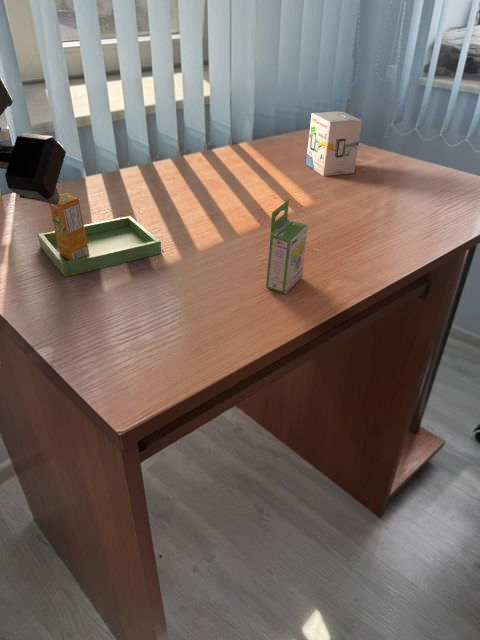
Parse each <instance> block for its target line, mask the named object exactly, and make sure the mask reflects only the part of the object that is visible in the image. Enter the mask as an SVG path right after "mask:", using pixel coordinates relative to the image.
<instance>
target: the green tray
mask: <svg viewBox="0 0 480 640" xmlns="http://www.w3.org/2000/svg"><path fill="white" fill-rule="evenodd" d="M84 229H85V234H86V239H87V244H88V250H89V255H90V256H87V257H83V258H78V259H74V260H70V261H65V260H64V259H63V258H62V256H61V255H60V252H59V247H58V243H57V239H56V234H55V230H52V231H46V232H41V233H37V238H38V243H39V246H40V248H41V250H42V251H43V252H44V253H45V254H46V256H47V257H48V258H49V259H50V261H51V262H52V263H53V264H54V266H55V267H56V268H57V269H58V270H59V272H60V273H61V274H62V276H63V277H64V278H68V277H71V276H72V277H73V276H76V275H81V274H84V273H88V272H92V271H96V270H101V269H104V268H108V267H112V266H117V265H120V264H125V263H129V262H132V261H136V260H141V259H145V258H149V257H153V256H157V255H161V254H162V242H161V240H160V239H158V238H157V237H156V235H153V233H151V232H150V231H149V230H148V229H147V228H145V227H144V226H143V225H141V224H140V223H139V222H138V221H137V220H136V219H134V218H133V217H132V216H131V215H127V216H123V217H117V218H112V219H107V220H102V221H98V222H97V221H96V222H93V223H87V224H84Z"/></svg>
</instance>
